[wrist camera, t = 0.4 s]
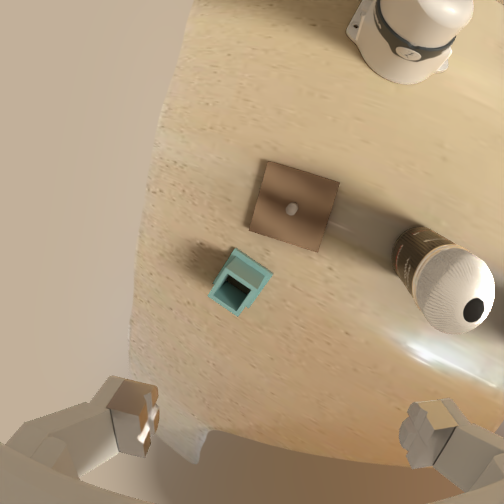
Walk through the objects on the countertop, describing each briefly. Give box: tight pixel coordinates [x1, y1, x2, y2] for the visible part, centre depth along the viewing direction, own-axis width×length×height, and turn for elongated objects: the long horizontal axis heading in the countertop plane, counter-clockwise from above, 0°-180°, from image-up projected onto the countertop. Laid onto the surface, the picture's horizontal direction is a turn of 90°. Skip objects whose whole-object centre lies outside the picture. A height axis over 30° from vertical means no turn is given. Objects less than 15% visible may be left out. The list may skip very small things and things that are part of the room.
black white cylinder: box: [392, 227, 494, 334], centre depth 39 cm, size 10×10×25 cm
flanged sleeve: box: [208, 248, 273, 317], centre depth 55 cm, size 8×8×8 cm
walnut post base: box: [249, 161, 340, 252], centre depth 50 cm, size 12×12×6 cm
